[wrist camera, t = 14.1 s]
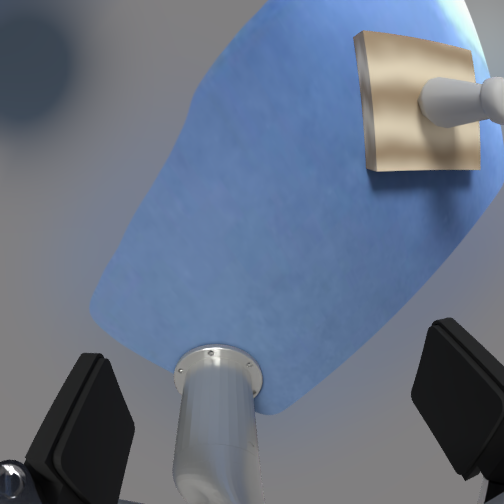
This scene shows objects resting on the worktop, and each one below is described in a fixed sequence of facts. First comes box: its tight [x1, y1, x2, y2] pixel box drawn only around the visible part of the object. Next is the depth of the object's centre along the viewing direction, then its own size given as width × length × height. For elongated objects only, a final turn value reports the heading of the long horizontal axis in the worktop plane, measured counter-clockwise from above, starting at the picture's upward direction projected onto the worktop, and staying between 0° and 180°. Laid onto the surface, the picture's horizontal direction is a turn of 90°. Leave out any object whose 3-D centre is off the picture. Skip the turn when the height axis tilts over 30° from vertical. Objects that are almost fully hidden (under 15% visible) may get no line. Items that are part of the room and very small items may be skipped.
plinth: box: [353, 30, 480, 172], centre depth 31 cm, size 16×16×3 cm
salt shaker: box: [417, 77, 504, 128], centre depth 23 cm, size 6×6×13 cm
